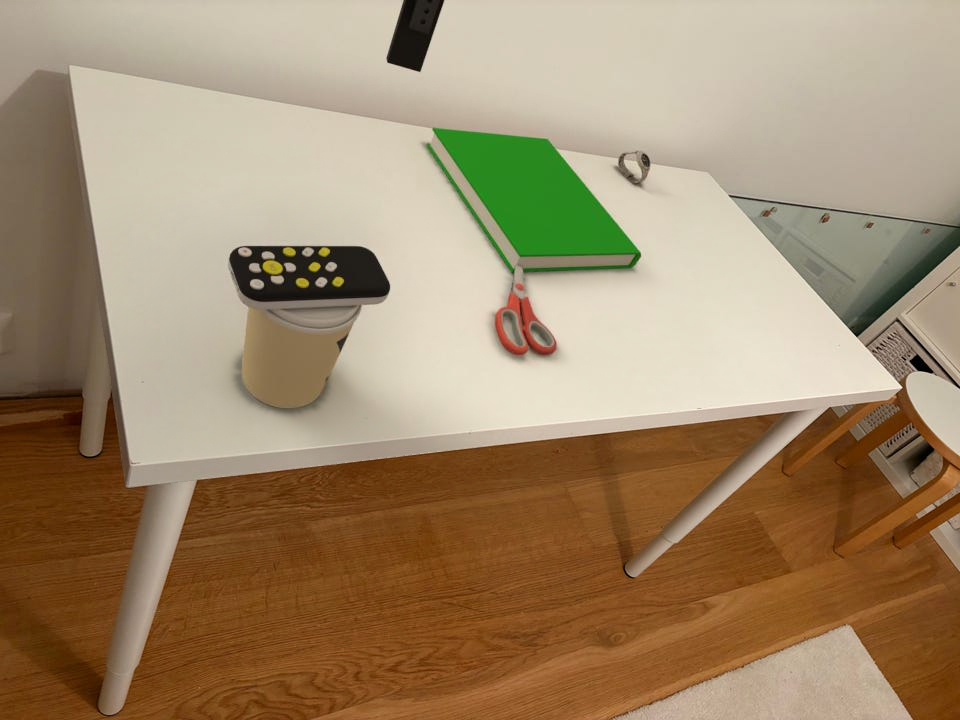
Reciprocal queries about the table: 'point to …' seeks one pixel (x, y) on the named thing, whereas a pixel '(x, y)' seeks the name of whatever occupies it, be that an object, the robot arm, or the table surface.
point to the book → (531, 203)
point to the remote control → (307, 276)
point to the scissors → (528, 321)
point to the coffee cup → (293, 351)
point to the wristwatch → (642, 162)
